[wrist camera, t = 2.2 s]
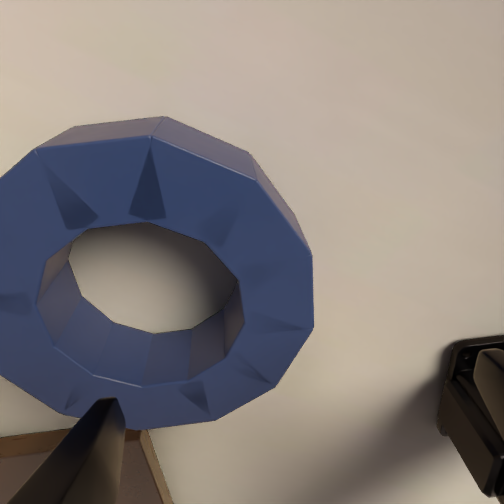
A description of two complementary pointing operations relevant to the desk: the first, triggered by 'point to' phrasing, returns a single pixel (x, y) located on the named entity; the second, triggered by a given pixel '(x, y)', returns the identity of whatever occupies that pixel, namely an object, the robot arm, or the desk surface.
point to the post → (42, 444)
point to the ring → (172, 218)
